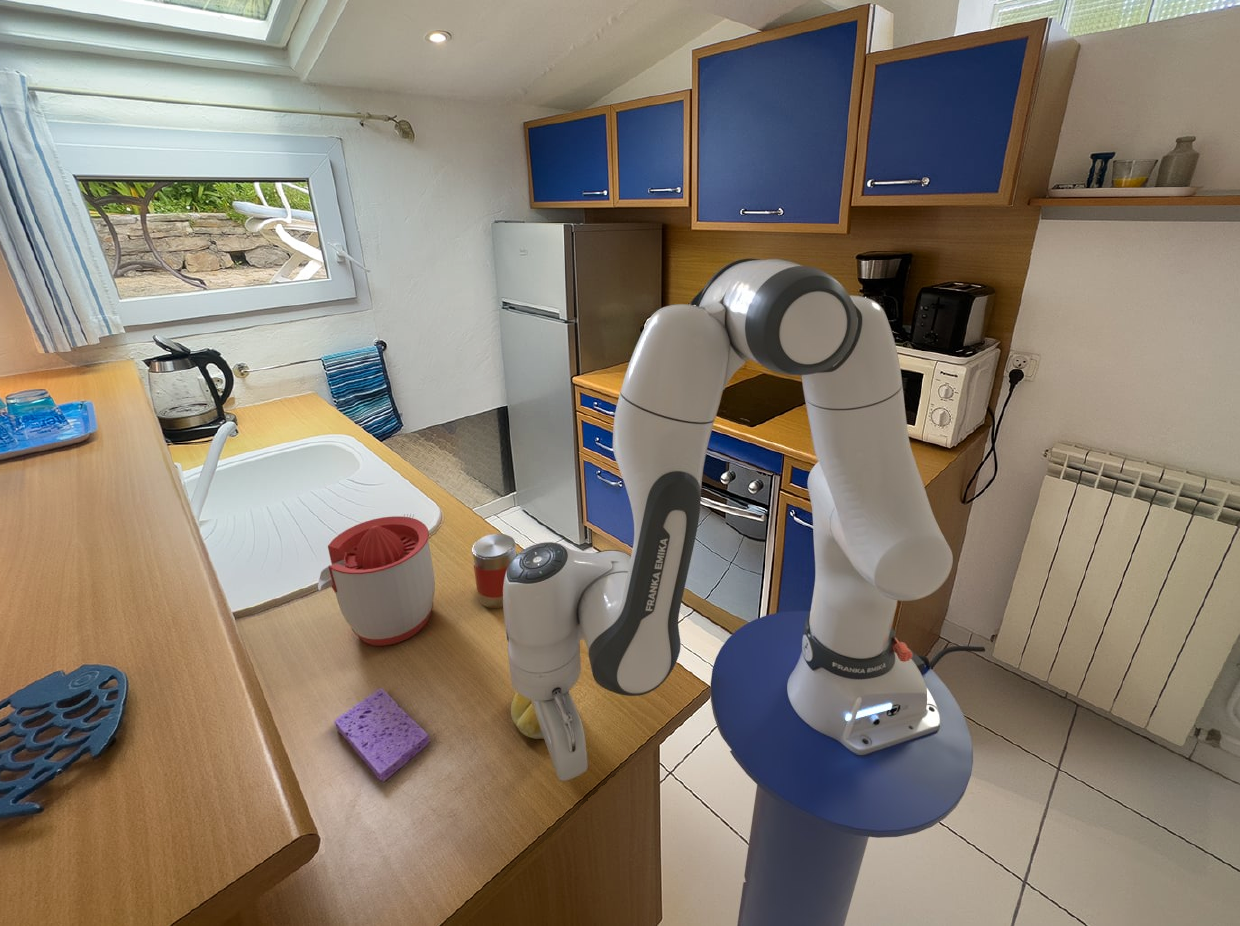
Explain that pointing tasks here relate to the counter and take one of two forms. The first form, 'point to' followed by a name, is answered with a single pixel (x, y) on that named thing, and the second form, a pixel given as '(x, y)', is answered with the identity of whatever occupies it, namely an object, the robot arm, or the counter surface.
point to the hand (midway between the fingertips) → (551, 737)
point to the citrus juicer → (382, 578)
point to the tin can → (492, 567)
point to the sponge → (382, 733)
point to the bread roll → (525, 717)
